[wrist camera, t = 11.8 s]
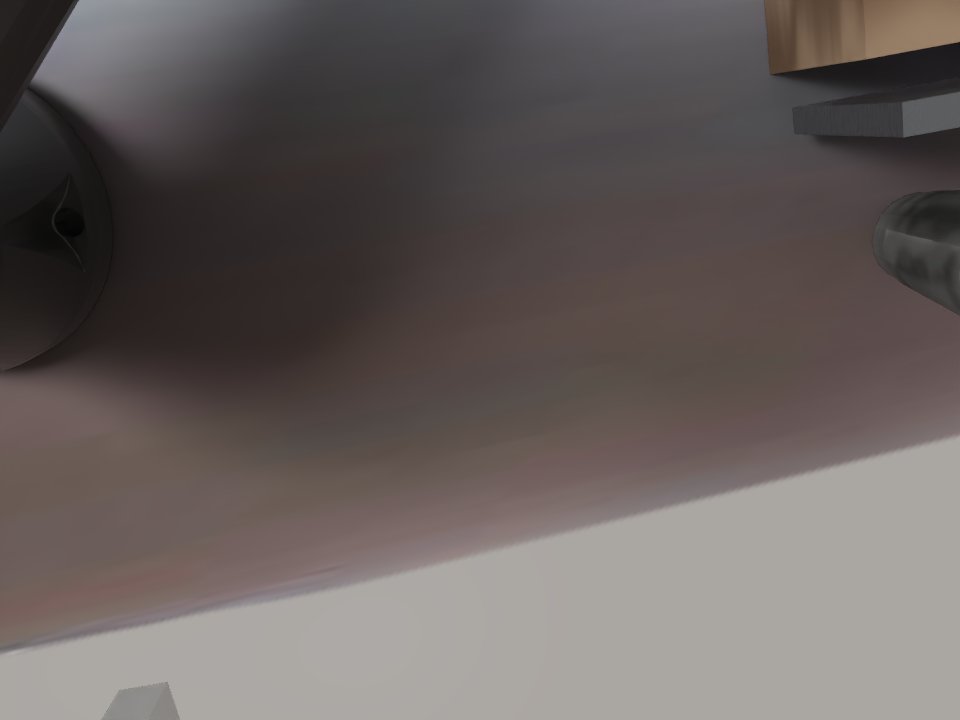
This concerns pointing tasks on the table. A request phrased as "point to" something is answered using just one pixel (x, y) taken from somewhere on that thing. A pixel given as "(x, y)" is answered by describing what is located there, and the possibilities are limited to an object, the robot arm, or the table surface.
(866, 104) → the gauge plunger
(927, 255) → the beverage cup
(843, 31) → the brown boxy piece
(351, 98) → the table surface
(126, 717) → the robot arm
